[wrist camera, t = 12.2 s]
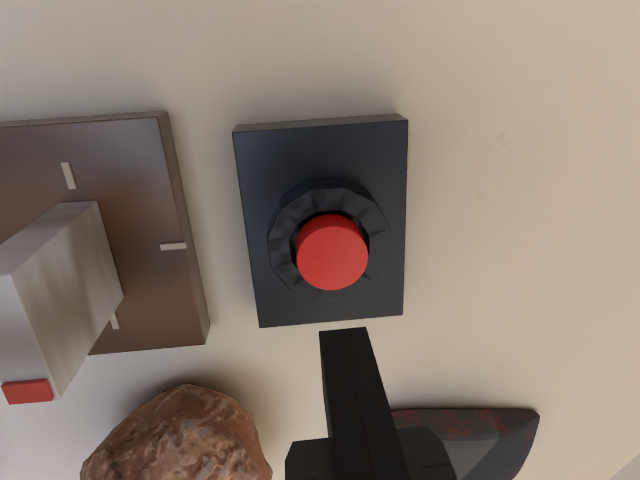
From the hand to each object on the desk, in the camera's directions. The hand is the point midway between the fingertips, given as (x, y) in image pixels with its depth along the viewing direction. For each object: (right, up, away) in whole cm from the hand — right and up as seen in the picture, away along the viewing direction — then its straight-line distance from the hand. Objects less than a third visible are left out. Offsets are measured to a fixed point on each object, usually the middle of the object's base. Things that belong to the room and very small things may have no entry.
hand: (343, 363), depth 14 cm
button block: (-1, +5, +12) cm, 13 cm away
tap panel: (-14, +4, +12) cm, 18 cm away
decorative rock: (-11, -10, +19) cm, 24 cm away
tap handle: (-13, +3, +10) cm, 17 cm away
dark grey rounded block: (+10, -12, +21) cm, 26 cm away
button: (0, +4, +9) cm, 10 cm away
